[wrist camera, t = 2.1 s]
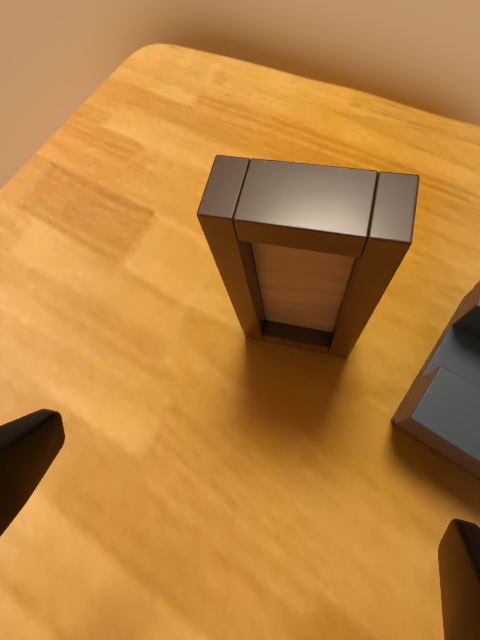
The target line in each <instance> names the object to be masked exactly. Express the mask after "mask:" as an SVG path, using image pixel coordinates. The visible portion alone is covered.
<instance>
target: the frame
mask: <svg viewBox="0 0 480 640" xmlns="http://www.w3.org/2000/svg"><path fill="white" fill-rule="evenodd" d="M418 187H419V176H418V175H411V174H401V173H391V172H379V173H378V171H375V170H365V169H355V168H345V167H335V166H325V165H315V164H305V163H294V162H284V161H274V160H264V159H254V158H251V160H250V159H249V158H242V157H232V156H222V155H216V157H215V160H214V163H213V166H212V169H211V172H210V175H209V178H208V181H207V184H206V187H205V190H204V193H203V196H202V199H201V202H200V205H199V208H198V211H197V217H198V220H199V222H200V225H201V227H202V230H203V232H204V235H205V237H206V240H207V242H208V245H209V247H210V250H211V252H212V255H213V257H214V260H215V262H216V265H217V267H218V270H219V272H220V275H221V277H222V280H223V282H224V285H225V287H226V290H227V292H228V295H229V297H230V300H231V302H232V305H233V307H234V310H235V312H236V315H237V317H238V320H239V322H240V325H241V327H242V330H243V332H244V335H245V337H246V338H251V339H256V340H261V341H263V340H264V341H266V342H271V343H276V344H281V345H286V346H291V347H296V348H301V349H306V350H311V351H316V352H321V353H326V354H327V353H328V354H331V355H336V356H341V357H346V358H348V356H349V354H350V353H351V351H352V349H353V347H354V345H355V344H356V342H357V340H358V338H359V337H360V335H361V333H362V331H363V329H364V328H365V326H366V324H367V322H368V320H369V319H370V317H371V315H372V313H373V312H374V310H375V308H376V306H377V304H378V303H379V301H380V299H381V297H382V295H383V294H384V292H385V290H386V288H387V287H388V285H389V283H390V281H391V279H392V278H393V276H394V274H395V272H396V270H397V269H398V267H399V265H400V263H401V262H402V260H403V258H404V256H405V254H406V253H407V251H408V249H409V247H410V245H411V244H412V237H413V229H414V220H415V212H416V204H417V195H418Z"/></svg>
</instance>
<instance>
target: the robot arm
mask: <svg viewBox="0 0 480 640" xmlns="http://www.w3.org/2000/svg"><path fill="white" fill-rule="evenodd" d="M64 441H65V433H64V428H63V422H62V417H61V414H60V413H59V412H57V411H53V410H49V409H41V410H38V411H36V412H33V413H31V414H28V415H26V416H24V417H21V418H19V419H16V420H14V421H11V422H9V423H6V424H4V425H1V426H0V536H1V535H2V534H3V533H4V531H5V530H6V529H7V527H8V526H9V525H10V523H11V522H12V521H13V520H14V518H15V517H16V516H17V514H18V513H19V512H20V510H21V509H22V508H23V506H24V505H25V504H26V502H27V501H28V499H29V498H30V496H31V495H32V493H33V492H34V490H35V489H36V487H37V486H38V484H39V482H40V481H41V479H42V478H43V476H44V475H45V473H46V471H47V470H48V468H49V467H50V465H51V464H52V462H53V461H54V459H55V457H56V456H57V454H58V453H59V451H60V450H61V448H62V446H63V444H64ZM438 560H439V574H440V587H441V601H442V614H443V627H444V638H445V640H480V528H479V527H478V526H477V525H476V524H474V523H471V522H467V521H463V520H459V519H453V520H452V521H451V522H450V524H449V526H448V527H447V529H446V531H445V533H444V535H443V537H442V539H441V541H440V544H439V549H438Z"/></svg>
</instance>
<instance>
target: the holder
mask: <svg viewBox="0 0 480 640" xmlns="http://www.w3.org/2000/svg"><path fill="white" fill-rule="evenodd" d="M391 421H392V422H394V424H395V425H397V426H399V427H400V428H402V429H403V430H405V431H406V432H408V433H409V434H411V435H412V436H414V437H416V438H417V439H419V440H420V441H422V442H423V443H425V444H426V445H428V446H429V447H431V448H432V449H434V450H436V451H437V452H439V453H440V454H442V455H443V456H445V457H446V458H448V459H449V460H451V461H453V462H454V463H456V464H457V465H459V466H460V467H462V468H463V469H465V470H466V471H468V472H470V473H471V474H473V475H474V476H476V477H477V478H479V479H480V281H479V282H478V283H477V284H476V285H475V287H474V288H473V289H472V290H471V291H470V292H469V293H468V294H467V295H466V296H465V297H464V298H463V300H462V302H461V303H460V305H459V307H458V308H457V310H456V312H455V313H454V315H453V317H452V318H451V320H450V322H449V323H448V325H447V327H446V328H445V330H444V332H443V333H442V335H441V337H440V338H439V340H438V342H437V344H436V345H435V347H434V349H433V350H432V352H431V354H430V355H429V357H428V359H427V360H426V362H425V364H424V365H423V367H422V369H421V370H420V372H419V374H418V375H417V377H416V379H415V380H414V382H413V384H412V385H411V387H410V389H409V390H408V392H407V394H406V396H405V397H404V399H403V401H402V402H401V404H400V406H399V407H398V409H397V411H396V412H395V414H394V416H393V417H392V419H391Z"/></svg>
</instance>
